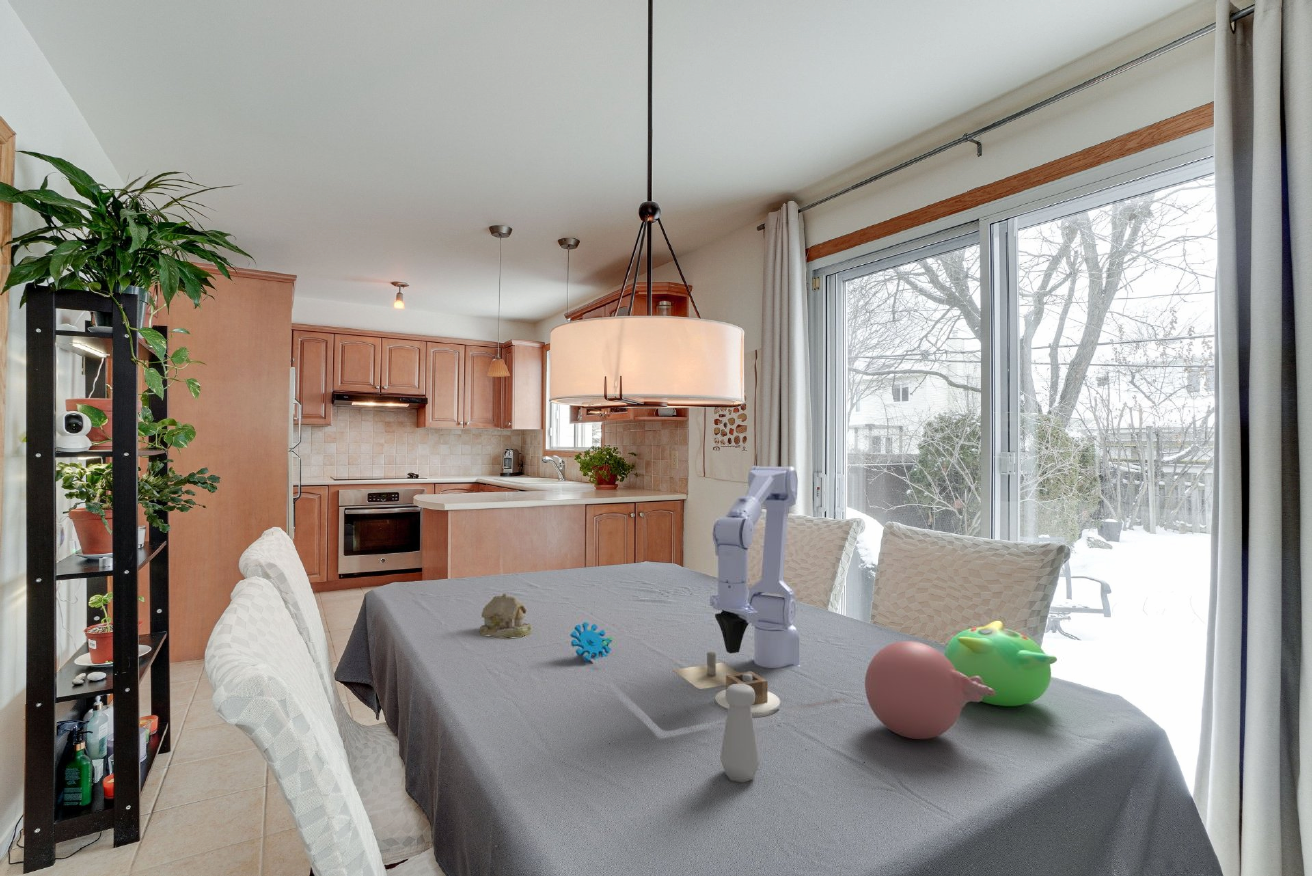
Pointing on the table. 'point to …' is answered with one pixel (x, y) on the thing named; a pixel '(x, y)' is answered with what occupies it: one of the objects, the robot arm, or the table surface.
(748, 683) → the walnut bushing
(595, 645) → the gear
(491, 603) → the ceramic model
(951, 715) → the balloon
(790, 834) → the table surface
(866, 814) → the table surface
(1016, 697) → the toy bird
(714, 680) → the birch stand
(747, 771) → the salt shaker
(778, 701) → the cream plate
